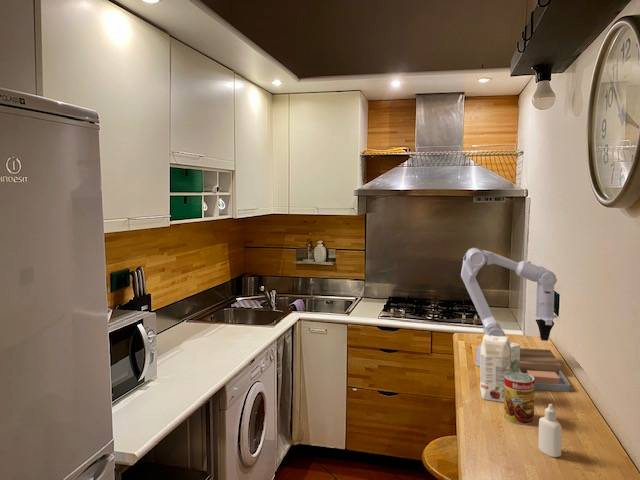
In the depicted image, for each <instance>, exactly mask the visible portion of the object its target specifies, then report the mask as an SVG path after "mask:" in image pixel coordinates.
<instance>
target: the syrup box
mask: <svg viewBox="0 0 640 480" xmlns="http://www.w3.org/2000/svg"><path fill="white" fill-rule="evenodd" d="M510 345H511V366H510V372H519V367H520V348H521V344H519V343H516V342H514V341H510Z"/></svg>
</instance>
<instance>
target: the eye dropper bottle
mask: <svg viewBox="0 0 640 480" xmlns="http://www.w3.org/2000/svg"><path fill="white" fill-rule="evenodd" d="M562 428H563V427H562V425H561V423H560V422H559V421H558V420H557V411H556V409H555V408H553V404H552V403H549V404H548V407H546V408H545V409H544V416H542V417H540V418H539V420H538V442H537V443H538V444H537V445H538V449H539V450H540V451H541V452H542V453H544V454H545V455H547V456H548V457H552V458H558V457H561V456H562V436H563V435H562V433H563V432H562Z"/></svg>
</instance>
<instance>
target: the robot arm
mask: <svg viewBox="0 0 640 480" xmlns="http://www.w3.org/2000/svg"><path fill="white" fill-rule="evenodd" d="M462 259H463V260H462V265H461V266H462V267H461V271H460V272H461V273H460V278H461V280H462V281H463V284H464V285H465V288H466V290H467V293H468V295H469V296H470V299H471V301H472V303H473V305H474V308H475V310H476V312H477V314H478V316H479V319H480V320H481V322H482V326H483V329H482V330H483V334H484V335H492V336H506V333H505V331H504V330H503V329H502V327H501V325H500V324H499V323H498V322H497V321H496V319H495V317H494V315H493V313H492V311H491V308H490V306H489V304H488V302H487V299H486V298H485V295H484V293H483V291H482V289H481V286H480V285H479V282H478V280H477V278H476V277H477V275H478V274H479V270H480V269H481V268H483V266H484V265H486V266H489V265H493V264H494V265H498V266H501V267H504V268H506V269H509V270H511V271H514V272H515V274H516V276H518V277H521V278H522V279H523V278H524V279H526V280H527V281H531V282H533V283H536V285H537V286H536V313H535V317H536V318H537V319H535V322H536V324H537V327H538V330H539V331H538V332H539V336H540V340H541V341H547V342H548V341H549V338H550V335H551V331H552V329H553V327H554V325H555V322H554V319H557V318H558V315H557V314H555V285H556V284H557V282H558V278H557V276H556V274H555V273H554V272H553V271H552V270H549V269H547V268H546V267H544V266H542V265H540V266H538V265H536V264H533V263H532V262H531V261H530V260H526V261H525V260H521V261H519V262H518V261H515V260H512V259H510V258H508V257H506V256H503V255H501V254H498V253H495V252H493V251H489V250H484V249H479V248H478V247H471V248H469V249H468V250H467V251H466V253H465V254H464V256H463V258H462ZM480 364H481V344H478V346H477V347H476V362H475V364H474V365H475V366H477V367H480Z"/></svg>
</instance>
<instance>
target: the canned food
mask: <svg viewBox="0 0 640 480" xmlns="http://www.w3.org/2000/svg"><path fill="white" fill-rule="evenodd" d="M534 387H535V379H534V377H533V376H531V375H529V374H526V373H521V372H509V373H506V374H505V375H504V402H503V418H504V419H505V420H506V421H508V422H509V423H512V424H515V425H523V426H524V425H525V426H526V425H530V424H532V423H534V421H535V389H534Z"/></svg>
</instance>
